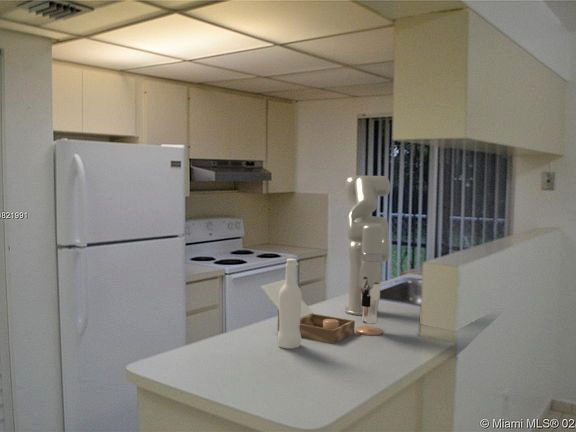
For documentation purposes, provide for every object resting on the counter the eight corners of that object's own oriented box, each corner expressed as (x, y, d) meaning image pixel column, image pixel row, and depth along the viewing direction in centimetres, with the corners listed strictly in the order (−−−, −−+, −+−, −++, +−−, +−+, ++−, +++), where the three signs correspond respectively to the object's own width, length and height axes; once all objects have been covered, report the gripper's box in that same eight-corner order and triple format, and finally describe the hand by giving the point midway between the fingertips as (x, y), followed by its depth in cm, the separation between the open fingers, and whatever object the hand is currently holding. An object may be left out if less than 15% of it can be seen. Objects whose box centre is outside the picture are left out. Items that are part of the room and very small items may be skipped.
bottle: (272, 346, 185) (275, 259, 183) (284, 341, 193) (286, 256, 191) (294, 351, 182) (296, 261, 180) (304, 344, 189) (307, 258, 187)
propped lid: (282, 319, 222) (283, 279, 221) (313, 324, 215) (314, 283, 214) (258, 328, 208) (259, 285, 207) (290, 334, 201) (291, 290, 199)
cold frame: (312, 324, 215) (312, 313, 215) (354, 332, 205) (354, 320, 205) (289, 334, 201) (289, 322, 200) (333, 343, 191) (333, 330, 191)
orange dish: (362, 326, 214) (362, 324, 214) (386, 331, 209) (386, 329, 209) (351, 332, 206) (351, 330, 205) (376, 337, 200) (376, 335, 200)
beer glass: (380, 324, 203) (381, 284, 202) (361, 324, 203) (362, 284, 202) (377, 319, 210) (378, 281, 209) (359, 319, 210) (360, 280, 209)
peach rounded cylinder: (327, 334, 203) (327, 318, 202) (340, 336, 200) (341, 320, 199) (320, 337, 198) (320, 321, 198) (333, 340, 195) (334, 323, 195)
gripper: (371, 254, 214) (370, 299, 216) (352, 259, 200) (350, 307, 201) (389, 256, 210) (388, 302, 212) (371, 261, 196) (369, 310, 197)
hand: (370, 304), depth 206 cm, fingers closed on beer glass, 6 cm apart
